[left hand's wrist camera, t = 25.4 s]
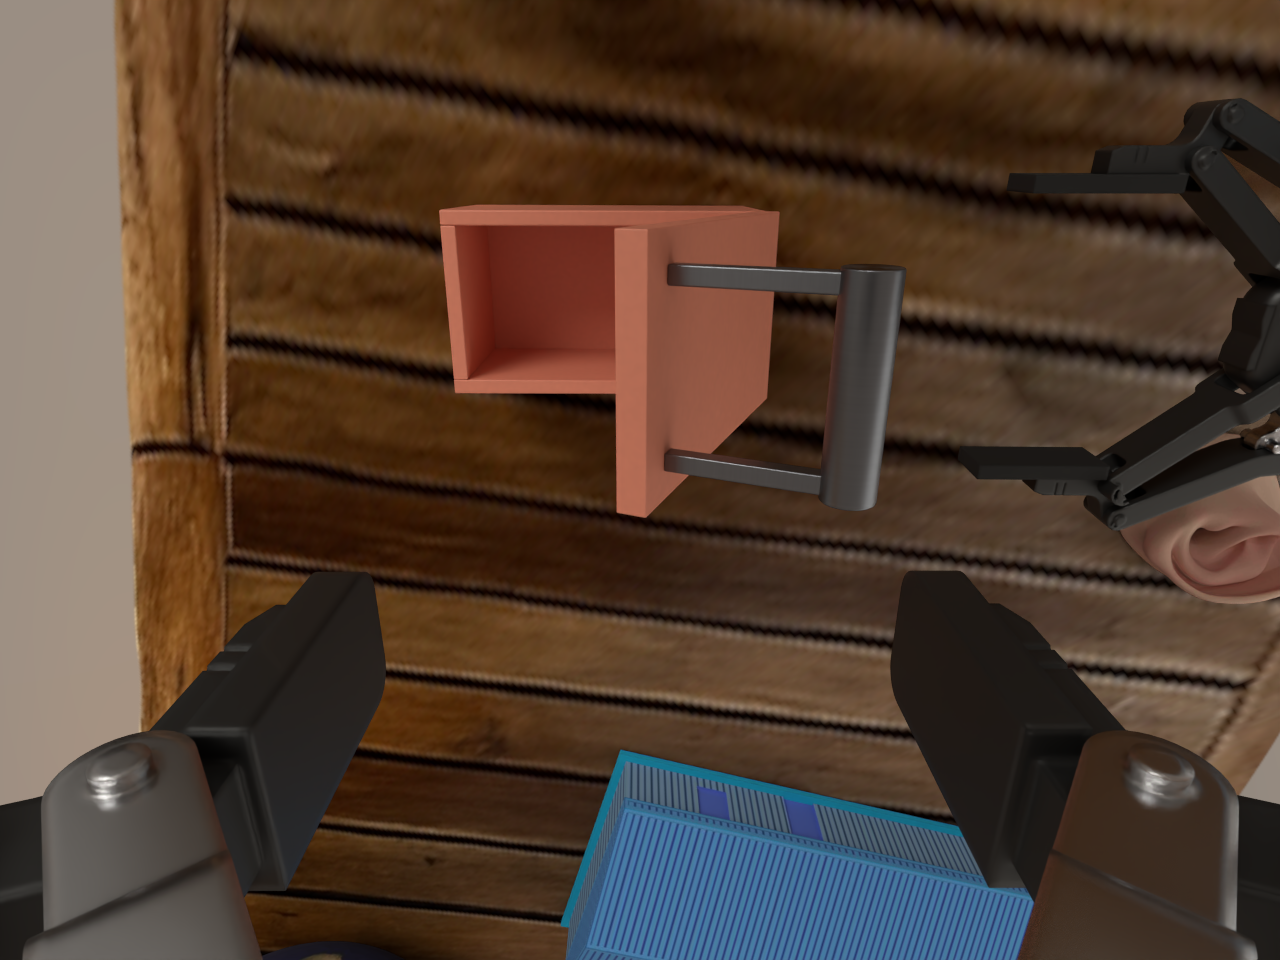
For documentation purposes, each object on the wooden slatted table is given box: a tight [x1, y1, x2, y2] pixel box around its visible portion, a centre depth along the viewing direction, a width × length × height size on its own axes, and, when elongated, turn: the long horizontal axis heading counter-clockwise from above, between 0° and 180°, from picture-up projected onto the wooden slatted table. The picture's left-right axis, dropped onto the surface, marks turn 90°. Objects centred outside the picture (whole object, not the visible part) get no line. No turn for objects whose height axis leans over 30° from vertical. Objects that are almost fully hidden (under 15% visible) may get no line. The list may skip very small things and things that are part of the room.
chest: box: [439, 205, 763, 394], centre depth 44 cm, size 17×10×9 cm, turn 90°
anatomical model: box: [1120, 433, 1280, 604], centre depth 53 cm, size 13×4×12 cm
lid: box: [614, 211, 906, 518], centre depth 31 cm, size 17×10×9 cm
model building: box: [561, 750, 1034, 960], centre depth 64 cm, size 39×24×10 cm, turn 74°
